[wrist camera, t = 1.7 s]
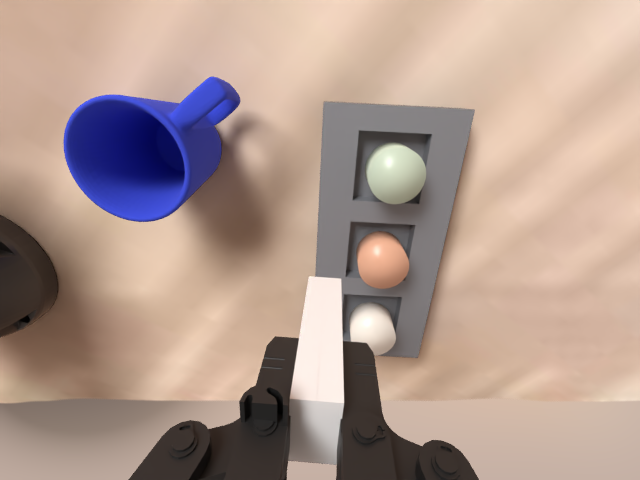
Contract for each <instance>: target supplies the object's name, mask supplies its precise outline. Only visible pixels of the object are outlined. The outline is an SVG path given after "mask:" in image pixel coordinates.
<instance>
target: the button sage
mask: <svg viewBox="0 0 640 480" xmlns="http://www.w3.org/2000/svg"><path fill="white" fill-rule="evenodd" d="M365 176H366V179H367V182H368V184H369V186H370V188H371V190H372V192H373V194H374V195H375V196H376V197H377V198H378V199H379V200H381V201H383V202H385V203H388V204H401V203H405V202H407V201H409V200H411V199H413V198H414V197H415V196H416V195H417V194H418V193H419V192H420V191H421V189H422V187H423V186H424V183H425V180H426V167H425V164H424V162H423V160H422V158H421V157H420V156H419V155H418V154H417V153H416V152H414V151H413V150H411V149H410V148H408V147H407V146H405V145H403V144H400V143H395V142H390V143H385V144H382V145H380V146H378V147H377V148H376V149H374V150H373V151H372V152H371V154H370V155H369V157H368V159H367V161H366V164H365Z"/></svg>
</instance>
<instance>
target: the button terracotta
mask: <svg viewBox="0 0 640 480" xmlns="http://www.w3.org/2000/svg"><path fill="white" fill-rule="evenodd" d="M356 257H357V263H358V269H359V274H360V276H361V278H362V280H363V281H364V282H365V283H366V284H368V285H369V286H371V287H374V288H378V289H386V288H391V287H394V286H396V285H398V284H399V283H400V282H402V281H403V280H404V278H405V277H406V275H407V273H408V271H409V260H408V257H407V255H406V253H405V251H404V249H403V247H402V245H401V243H400V241H399V240H398V238H397V237H396V236H394V235H393V234H391V233H389V232H385V231H376V232H372V233H370V234H368V235H366V236H365V237H363V238H362V239H361V241H360V242H359V244H358V246H357V249H356Z"/></svg>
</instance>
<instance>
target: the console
mask: <svg viewBox="0 0 640 480" xmlns="http://www.w3.org/2000/svg"><path fill="white" fill-rule="evenodd" d="M474 112H475V110H473V109H462V108H444V107H424V106H405V105H385V104H366V103H346V102H327V101H324V106H323V127H322V149H321V170H320V191H319V212H318V233H317V255H316V276H315V277H326V278H339V279H341V290H342V334H343V341H350V342H351V336H350V325H349V316H350V313H351V312H352V310H353V309H354V308H355V307H357V306H358V305H360V304H363V303H366V302H375V303H379V304H381V305H383V306H384V307H386V308H387V310H388V311H389V313H390V316H391V320H392V323H393V327H394V330H395V334H396V341H395V344H394V346H393V347H392V348H391V349H390V350H389V351H388V352H386V353H384V354H381V355H377V356H393V357H411V358H418V355H419V351H420V347H421V342H422V338H423V334H424V329H425V325H426V321H427V316H428V312H429V307H430V303H431V299H432V294H433V290H434V286H435V281H436V277H437V273H438V268H439V264H440V260H441V255H442V251H443V247H444V242H445V238H446V233H447V229H448V225H449V220H450V216H451V212H452V207H453V203H454V199H455V194H456V190H457V186H458V181H459V177H460V173H461V168H462V164H463V159H464V155H465V151H466V146H467V142H468V138H469V133H470V129H471V125H472V120H473V116H474ZM390 142H395V143H400V144H403V145H405V146H407V147H408V148H410V149H411V150H413V151H414V152H416V153H417V154H418V155H419V156H420V157H421V158H422V160H423V162H424V164H425V167H426V180H425V183H424V186H423V187H422V189H421V191H420V192H419V193H418V194H417V195H416V196H415V197H414V198H413V199H411V200H409V201H407V202H405V203H401V204H388V203H385V202H383V201H381V200H379V199H378V198H377V197H376V196H375V195H374V194H373V192H372V190H371V188H370V186H369V184H368V182H367V179H366V176H365V164H366V161H367V159H368V157H369V155H370V154H371V152H372V151H373V150H374V149H376V148H377V147H378V146H380V145H382V144H385V143H390ZM376 231H385V232H389V233H391V234H393V235H394V236H396V237H397V238H398V240H399V241H400V243H401V245H402V247H403V249H404V251H405V253H406V255H407V257H408V260H409V271H408V273H407V275H406V277H405V278H404V280H403V281H402V282H400V283H399V284H398V285H396V286H394V287H391V288H386V289H378V288H374V287H371V286H369V285H368V284H366V283H365V282H364V281H363V280H362V278H361V276H360V274H359V269H358V263H357V257H356V249H357V246H358V244H359V242H360V241H361V239H362V238H363V237H365V236H366V235H368V234H370V233H372V232H376Z"/></svg>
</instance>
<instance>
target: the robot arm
mask: <svg viewBox="0 0 640 480" xmlns="http://www.w3.org/2000/svg"><path fill="white" fill-rule="evenodd" d="M57 289H58V286H57V278H56V274H55V271H54V269H53V266H52V264H51V262H50V260H49V258H48V257H47V255H46V254H45V252H44V251H43V250H42V248H41V247H40V246H39V245H38V244H37V242H36V241H35V240H34V239H33V238H32V237H31V236H30V235H28V234H27V233H26V232H25V231H24V230H23V229H21V228H20V227H19V226H17V225H16V224H14V223H13V222H11V221H10V220H8V219H6V218H4V217H2V216H1V215H0V338H1V337H3V336H6V335H8V334H11V333H14V332H16V331H19V330H21V329H23V328H25V327H27V326H29V325H30V324H32V323H33V322H35V321H36V320H37V319H39V318H40V317H41V316H42V315H44V314H45V313H46V312H47V311H49V309H50V308H51V307H52V306H53V304H54V302H55V300H56V296H57ZM239 402H240V417H241V418H239V419H238V420H236V421H235V422H233V423H230V424H228V425H225V426H220V427H216V428H212V429H207V427H206V426H205V425H204V424H202V423H201V422H198V421H191V420H190V421H186V422H181V423H179V424H177V425H175V426H174V427H172V428H170V429H169V430H168V431H167V432H166V433H165V434H164V435H163V436H162V437H161V439H160V440H159V441H158V443H157V444H156V445H155V446H154V448H153V449H152V450H151V452H150V453H149V454H148V456H147V457H146V458H145V459H144V461H143V462H142V463H141V464H140V466H139V467H138V469H137V470H136V471H135V472H134V473H133V475H132V476H131V477H130V479H129V480H287V465H288V461H298V462H310V463H321V464H333V465H336V464H337V477H336V480H479V479H478V477H477V475H476V474H475V472H474V470H473V469H472V467H471V465H470V463H469V462H468V460H467V459H466V458H465V456H464V455H463V454H462V453H461V451H459V450H458V449H457V448H455V447H454V446H453V445H451V444H449V443H446V442H444V441H439V440H431V441H429V442H427V443H425V444H424V445H423V446H420V445H417V444H415V443H412V442H410V441H408V440H405V439H403V438H401V437H400V436H398V435H397V434H396V433H394V432H393V431H392V430H391V429H390V428H389V426H388V425H387V424H386V422H385V420H384V417H383V414H382V408H381V401H380V394H379V387H378V380H377V373H376V367H375V359H374V353H373V351H372V350H371V348H370V347H369V345H368V344H367V343H362V342H350V341H343V334H342V290H341V279H339V278H326V277H312V276H309V279H308V285H307V292H306V298H305V304H304V311H303V317H302V323H301V330H300V336H299V338H287V337H274V338H273V340H272V341H271V342H270V343H269V344H268V345H267V348H266V351H265V355H264V359H263V362H262V366H261V369H260V373H259V376H258V380H257V383H256V386H254V387H251V388H250V389H249V390H248V391H246V392H245V393H244V394H243V396H242V398H241V400H240V401H239Z"/></svg>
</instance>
